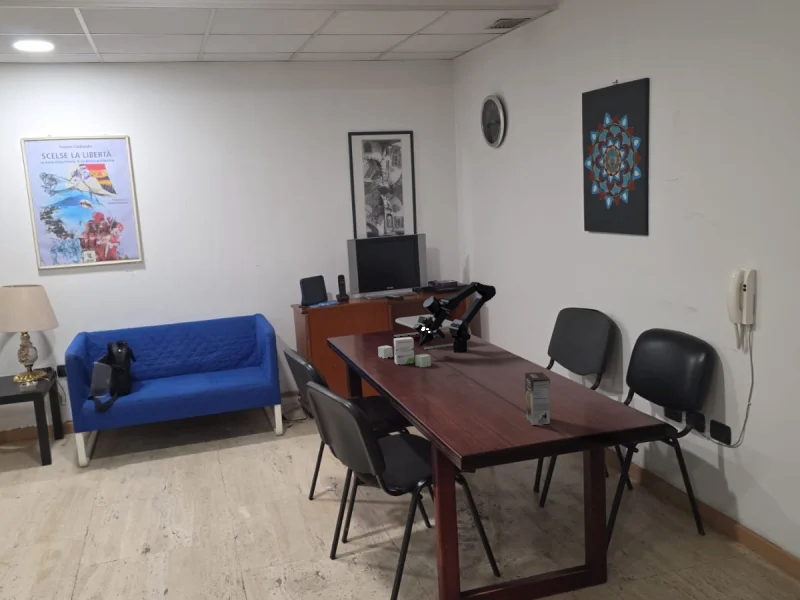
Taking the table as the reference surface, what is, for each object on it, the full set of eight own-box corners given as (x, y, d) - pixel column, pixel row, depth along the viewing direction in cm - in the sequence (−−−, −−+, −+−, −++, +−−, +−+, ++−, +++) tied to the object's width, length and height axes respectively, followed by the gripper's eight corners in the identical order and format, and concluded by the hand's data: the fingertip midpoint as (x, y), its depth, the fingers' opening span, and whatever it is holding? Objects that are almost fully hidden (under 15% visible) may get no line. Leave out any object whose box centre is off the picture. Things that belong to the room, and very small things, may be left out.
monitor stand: (392, 337, 382) (392, 318, 381) (437, 331, 394) (437, 313, 392) (423, 350, 349) (423, 329, 348) (471, 343, 361) (471, 323, 359)
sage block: (424, 364, 322) (424, 353, 322) (430, 366, 318) (430, 355, 317) (415, 365, 320) (415, 355, 319) (422, 367, 316) (421, 357, 315)
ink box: (412, 360, 329) (411, 336, 327) (414, 363, 324) (413, 338, 322) (394, 362, 327) (393, 337, 325) (396, 365, 322) (395, 340, 320)
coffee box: (524, 417, 243) (524, 372, 241) (543, 416, 244) (542, 371, 241) (532, 426, 234) (531, 379, 232) (550, 425, 235) (550, 378, 232)
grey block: (387, 355, 342) (386, 345, 341) (392, 357, 338) (392, 347, 337) (378, 356, 339) (378, 346, 338) (384, 358, 335) (383, 348, 334)
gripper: (416, 307, 337) (397, 332, 333) (439, 312, 322) (420, 338, 318) (429, 321, 343) (411, 346, 338) (453, 326, 328) (435, 353, 323)
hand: (419, 345), depth 329 cm, fingers closed
